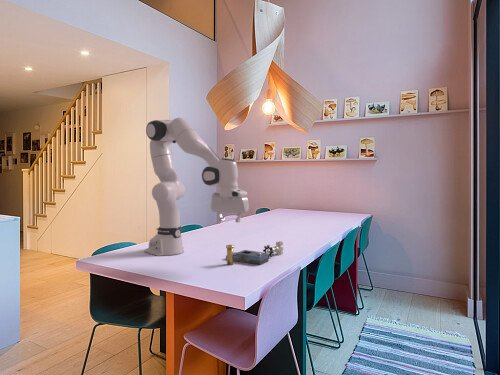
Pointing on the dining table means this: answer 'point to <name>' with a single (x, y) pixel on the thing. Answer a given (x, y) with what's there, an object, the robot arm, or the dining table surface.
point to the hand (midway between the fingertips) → (229, 221)
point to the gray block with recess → (250, 257)
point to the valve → (274, 249)
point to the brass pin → (229, 254)
